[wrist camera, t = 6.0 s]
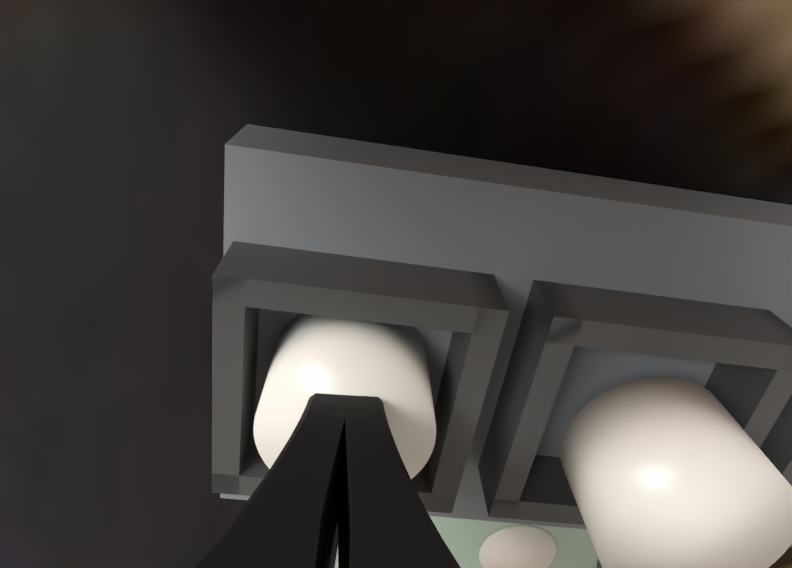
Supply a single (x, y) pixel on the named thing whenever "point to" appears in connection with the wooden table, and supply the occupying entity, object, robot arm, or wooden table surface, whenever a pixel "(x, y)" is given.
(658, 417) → the button middle
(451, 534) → the card
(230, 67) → the wooden table surface
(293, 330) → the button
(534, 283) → the board
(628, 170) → the wooden table surface
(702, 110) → the wooden table surface
